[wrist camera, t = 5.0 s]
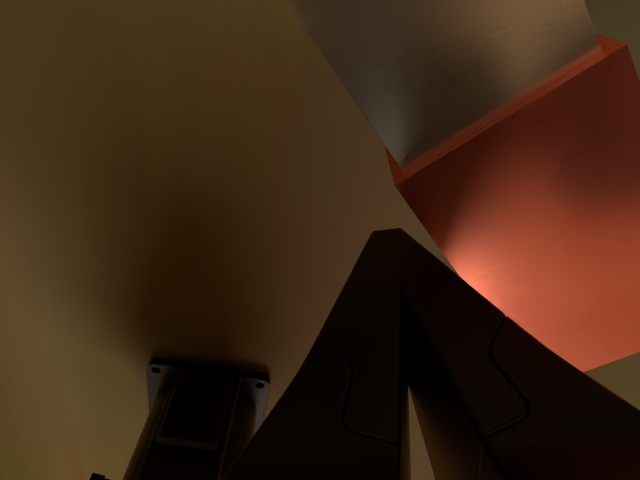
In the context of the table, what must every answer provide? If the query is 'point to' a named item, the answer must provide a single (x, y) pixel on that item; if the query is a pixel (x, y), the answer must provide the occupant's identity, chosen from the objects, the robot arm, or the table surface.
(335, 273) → the table surface
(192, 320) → the table surface
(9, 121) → the table surface
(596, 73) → the lever
